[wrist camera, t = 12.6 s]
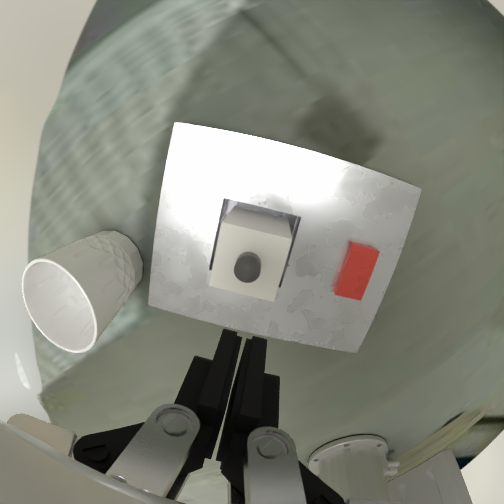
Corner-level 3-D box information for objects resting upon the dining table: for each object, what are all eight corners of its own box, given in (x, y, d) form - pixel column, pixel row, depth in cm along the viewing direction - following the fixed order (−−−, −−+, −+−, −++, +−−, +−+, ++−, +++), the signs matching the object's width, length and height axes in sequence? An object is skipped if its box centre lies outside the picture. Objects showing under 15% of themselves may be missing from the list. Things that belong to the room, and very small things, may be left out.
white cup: (123, 209, 25) (55, 240, 16) (163, 281, 27) (116, 340, 18) (73, 244, 27) (9, 281, 17) (109, 307, 29) (59, 360, 19)
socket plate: (409, 185, 22) (426, 190, 19) (351, 339, 28) (358, 358, 25) (184, 124, 22) (171, 121, 19) (157, 293, 28) (144, 309, 25)
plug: (288, 218, 24) (293, 245, 17) (274, 268, 25) (273, 310, 18) (234, 205, 24) (218, 226, 17) (223, 256, 25) (204, 293, 18)
